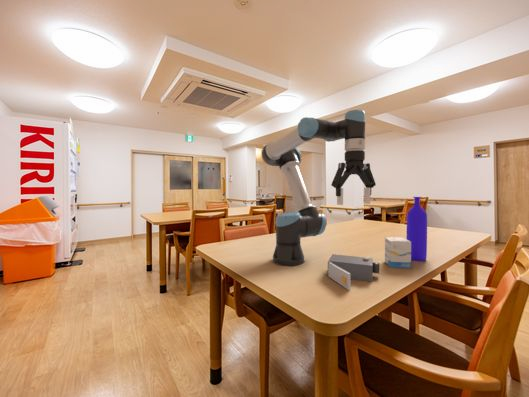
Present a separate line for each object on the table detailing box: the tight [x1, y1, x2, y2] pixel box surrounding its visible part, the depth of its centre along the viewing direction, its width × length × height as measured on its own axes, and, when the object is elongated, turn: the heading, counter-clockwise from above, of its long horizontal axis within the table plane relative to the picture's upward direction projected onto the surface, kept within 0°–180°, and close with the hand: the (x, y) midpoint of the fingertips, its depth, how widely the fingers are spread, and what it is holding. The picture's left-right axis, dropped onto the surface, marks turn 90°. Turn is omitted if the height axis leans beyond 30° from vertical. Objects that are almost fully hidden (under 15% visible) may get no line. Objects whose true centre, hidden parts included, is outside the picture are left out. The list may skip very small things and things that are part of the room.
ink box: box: [384, 236, 412, 269], centre depth 106 cm, size 9×8×12 cm
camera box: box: [327, 253, 380, 282], centre depth 95 cm, size 18×10×7 cm, turn 65°
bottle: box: [406, 196, 428, 262], centre depth 113 cm, size 8×8×30 cm
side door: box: [327, 261, 352, 291], centre depth 87 cm, size 14×2×6 cm, turn 15°
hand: (353, 204), depth 95 cm, fingers open, 13 cm apart
